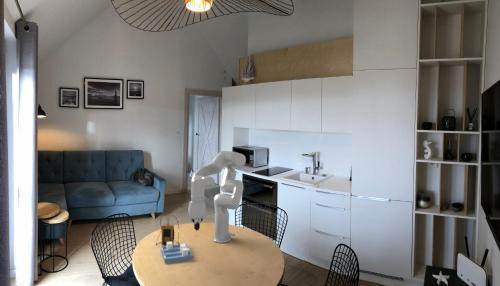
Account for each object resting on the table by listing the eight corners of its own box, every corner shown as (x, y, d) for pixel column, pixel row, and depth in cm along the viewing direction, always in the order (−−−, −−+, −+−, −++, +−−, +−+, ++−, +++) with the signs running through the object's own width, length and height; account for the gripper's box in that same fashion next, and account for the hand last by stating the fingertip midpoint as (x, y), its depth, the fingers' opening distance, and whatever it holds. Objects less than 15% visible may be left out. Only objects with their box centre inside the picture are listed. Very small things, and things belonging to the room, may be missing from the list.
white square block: (186, 253, 192) (186, 247, 192) (188, 256, 189) (188, 250, 188) (181, 254, 191) (181, 248, 191) (183, 257, 188) (183, 250, 187)
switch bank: (186, 247, 205) (186, 243, 205) (192, 259, 189) (192, 255, 189) (160, 250, 199) (160, 246, 199) (164, 263, 183) (164, 259, 182)
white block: (171, 247, 201) (171, 241, 200) (172, 250, 197) (172, 243, 197) (166, 248, 200) (166, 242, 199) (167, 250, 196) (167, 244, 196)
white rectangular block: (184, 249, 198) (184, 243, 198) (186, 252, 194) (186, 246, 194) (179, 250, 197) (180, 244, 196) (181, 253, 193) (181, 246, 193)
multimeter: (182, 240, 216) (183, 211, 215) (177, 246, 206) (178, 216, 205) (161, 239, 218) (161, 210, 216) (155, 245, 208) (155, 214, 206)
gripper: (208, 196, 196) (207, 226, 198) (183, 198, 190) (182, 229, 192) (211, 199, 189) (210, 230, 191) (186, 201, 184) (185, 233, 185)
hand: (196, 229), depth 191 cm, fingers closed
